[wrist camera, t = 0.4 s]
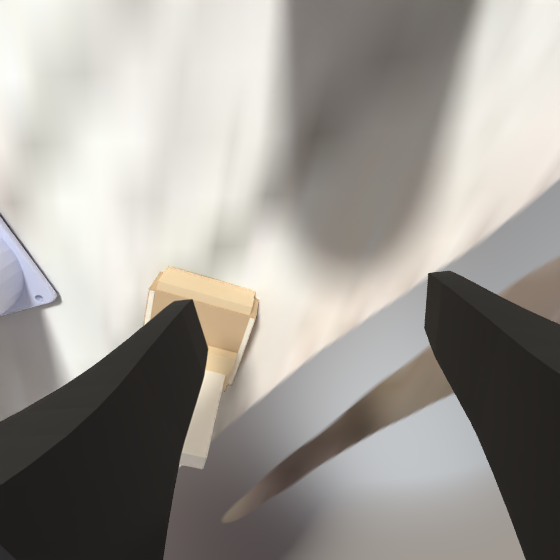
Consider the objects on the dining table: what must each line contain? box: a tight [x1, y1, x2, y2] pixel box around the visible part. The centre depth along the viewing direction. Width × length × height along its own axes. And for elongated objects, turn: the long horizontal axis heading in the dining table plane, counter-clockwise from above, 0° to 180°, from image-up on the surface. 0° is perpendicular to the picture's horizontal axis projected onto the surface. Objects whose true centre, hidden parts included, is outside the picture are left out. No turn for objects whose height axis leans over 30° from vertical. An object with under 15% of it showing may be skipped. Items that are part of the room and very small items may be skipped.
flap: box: [179, 345, 237, 469], centre depth 20 cm, size 3×6×6 cm, turn 72°
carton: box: [143, 266, 259, 386], centre depth 23 cm, size 7×6×2 cm
